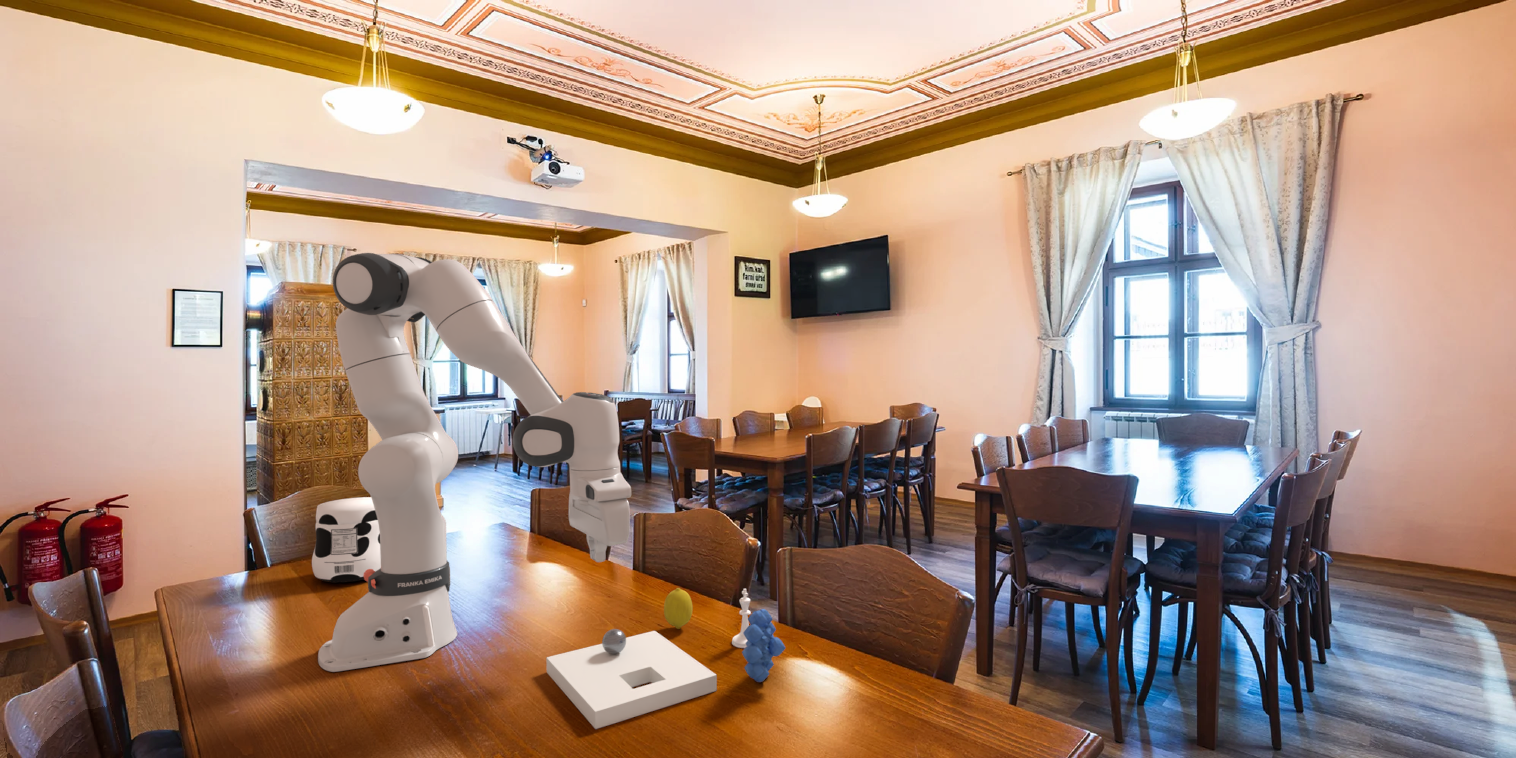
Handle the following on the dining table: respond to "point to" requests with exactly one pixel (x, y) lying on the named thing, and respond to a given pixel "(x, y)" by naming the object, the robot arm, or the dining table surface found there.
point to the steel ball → (614, 641)
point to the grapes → (761, 645)
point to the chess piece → (743, 621)
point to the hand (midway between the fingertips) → (597, 560)
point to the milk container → (346, 540)
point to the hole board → (629, 678)
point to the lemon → (678, 608)
